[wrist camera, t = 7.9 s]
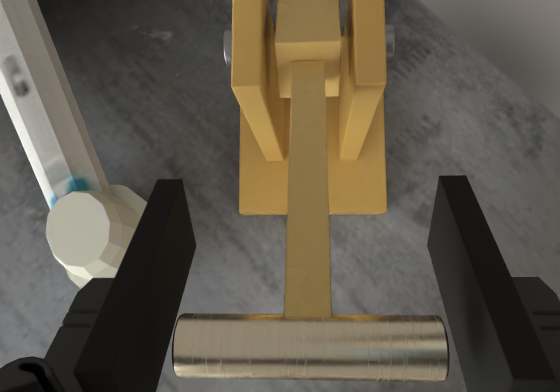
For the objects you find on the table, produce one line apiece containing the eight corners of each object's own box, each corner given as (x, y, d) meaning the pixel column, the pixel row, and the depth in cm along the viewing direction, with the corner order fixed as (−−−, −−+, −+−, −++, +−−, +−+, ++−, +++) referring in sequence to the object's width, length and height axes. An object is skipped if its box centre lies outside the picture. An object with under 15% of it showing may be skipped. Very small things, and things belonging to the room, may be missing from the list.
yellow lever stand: (383, 214, 28) (439, 170, 15) (242, 215, 28) (182, 174, 16) (378, 46, 29) (426, -124, 16) (244, 50, 30) (190, -110, 17)
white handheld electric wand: (-18, -125, 28) (143, 258, 21) (50, -41, 34) (192, 275, 27) (-99, -82, 28) (34, 317, 21) (-15, -6, 34) (109, 319, 27)
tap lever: (436, 395, 12) (459, 364, 10) (186, 390, 12) (161, 359, 10) (385, 46, 19) (392, -10, 17) (234, 51, 20) (225, -3, 18)
